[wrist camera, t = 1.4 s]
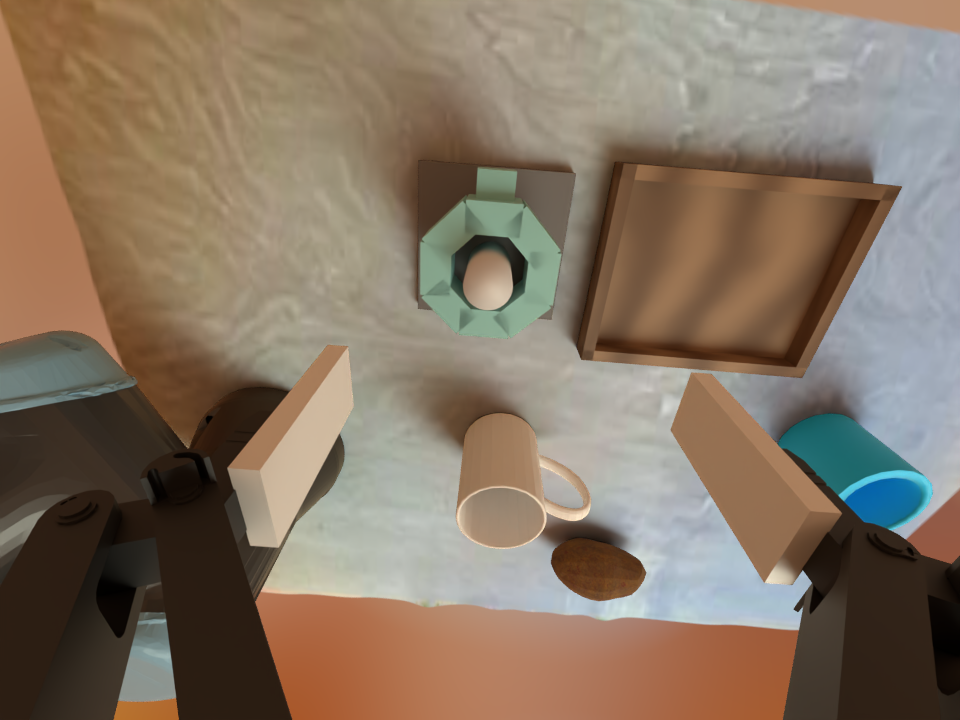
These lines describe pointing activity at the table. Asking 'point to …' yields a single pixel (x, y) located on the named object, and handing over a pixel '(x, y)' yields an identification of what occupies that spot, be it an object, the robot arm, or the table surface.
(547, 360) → the table surface
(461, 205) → the ring
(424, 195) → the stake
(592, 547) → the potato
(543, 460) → the mug
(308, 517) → the table surface
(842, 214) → the tray
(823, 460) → the mug
